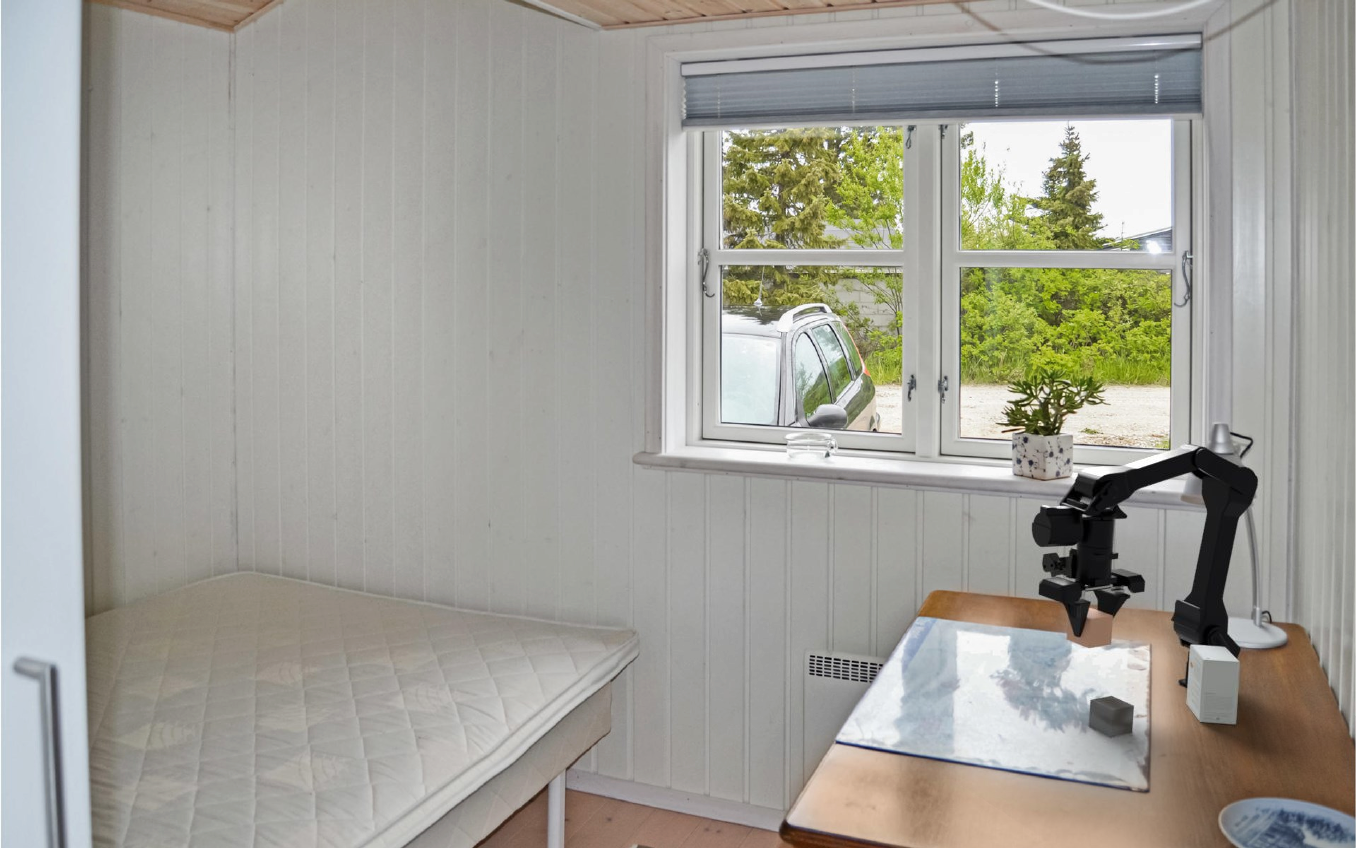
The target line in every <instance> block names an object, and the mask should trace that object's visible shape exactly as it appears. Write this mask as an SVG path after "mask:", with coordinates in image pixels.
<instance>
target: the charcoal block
mask: <svg viewBox="0 0 1356 848" xmlns="http://www.w3.org/2000/svg"><path fill="white" fill-rule="evenodd" d="M1089 701H1090V702H1089V719H1088V727H1089V728H1091V729H1093V730H1094V731H1097V732H1099V733H1102V734H1103V735H1105V736H1108V737H1109V738H1114V737H1119V736H1120V737H1121V736H1124V735H1128V734H1132V733H1133V728H1134V727H1133V726H1134V712H1135V711H1134V709H1135V705H1133V704H1131V703H1129V702H1126V701H1125V700H1122V699H1119V698H1118V697H1115V696H1114V695H1108V696H1104V697H1097V698H1092V699H1090V700H1089Z"/></svg>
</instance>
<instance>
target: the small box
mask: <svg viewBox="0 0 1356 848" xmlns="http://www.w3.org/2000/svg"><path fill="white" fill-rule="evenodd" d="M1189 652H1190V655H1189V671H1188V686H1186V687H1187V691H1186V703H1185V704H1186V705H1187V707H1188V708H1189V709H1190V711H1191V712H1192V713H1193V715H1194V716H1195V717H1196V719H1197V720H1198V721H1199V722H1200V723H1209V724H1212V723H1213V724H1225V725H1237V715H1238V701H1239V700H1238V699H1239V688H1240V687H1239V686H1240V671H1241V661H1240V660H1239V659H1238V658H1237V659H1236V658H1235V657H1234V656H1233V655H1232V654H1231V653H1230V652H1229V650H1228V649H1227V648H1226V647H1220V646H1205V645H1190V649H1189Z"/></svg>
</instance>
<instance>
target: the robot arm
mask: <svg viewBox="0 0 1356 848" xmlns="http://www.w3.org/2000/svg"><path fill="white" fill-rule="evenodd" d="M1187 474H1191V475H1192V476H1194V477H1195V478H1197V479H1199V480H1200V481H1201V497H1202V501H1203V503H1204V506H1205V509H1206V516H1205V522H1204V526H1203V532H1202V536H1201V543H1200V546H1199V553H1198V557H1197V561H1196V565H1195V566H1196V567H1195V573H1194V576H1193V577H1194V578H1193V581H1192V588H1191V591H1190V593H1189V594H1188V595H1187V596H1186V597H1185V598H1184V599H1183V600H1182V599H1179V598H1177V599H1176V600H1175V603H1174V611H1173V615H1172V617H1171V619H1170V621H1171V622H1173V626H1172V627H1173V632H1175V634H1176V636H1178V639H1179V644H1180V646H1182V647H1185V648H1187V649H1188V650H1190V645H1205V646H1220V647H1226V648H1227V649H1228V650H1229V652H1230V653H1231V654H1232V655H1233V656H1234V657H1235V658H1236V659H1237V660H1238V658H1239V655H1240V653H1241V650H1242V649H1241V647H1240V646H1239V645H1238V643H1237V642H1235V640H1234V639H1233V638H1232V636H1230V634H1229V633H1228V632H1229V615H1228V611H1227V609H1226V605H1225V602H1224V595H1225V594H1224V593H1225V589H1226V583H1227V578H1228V574H1229V570H1230V564H1231V559H1232V555H1233V549H1234V543H1235V539H1236V536H1237V535H1236V533H1237V529H1238V524H1239V520H1240V517H1242V515H1243V514H1244V513H1245V512H1246V511H1247V510H1248V509H1249V508H1250V506H1251V505H1252V503H1253V501H1254V497H1255V495H1256V493H1257V489H1258V486H1259V477H1258V476H1257V475H1256V473H1255V471H1254V470H1253V469H1252V468H1251V467H1247V466H1244V465H1239V464H1235V463H1234V462H1232V461H1229V460H1228V459H1225V458H1224V457H1222V456H1220V455H1218V454H1216V453H1215V452H1213V451H1212V450H1210V449H1209V448H1207V447H1205V446H1201V445H1198V444H1197V445H1196V444H1193V443H1192V444H1191V443H1184V444H1182V445H1180V446H1178V447H1176V448H1174V449H1170V450H1167V451H1164V452H1161V453H1157V454H1155V455H1152V456H1148V457H1146V458H1142V459H1139V460H1136V461H1134V462H1130V463H1127V464H1123V465H1114V466H1113V465H1102V466H1095V467H1087V468H1084V469H1081V470H1080V471H1079V472H1078V473H1077V476H1076V478H1075V480H1074V483H1073V484H1072V485H1071V487H1070V488H1069V489H1068V491H1067V492H1066V494H1065V495H1064V496H1063V498H1062V499H1061V501H1060V502H1059V505H1056V506H1055V505H1046V504H1045V505H1041V506H1040V507H1039V512H1038V513H1037V514H1035V516H1034V518H1033V521H1032V522H1031V534H1032V538H1033V540H1034V542H1035V544H1036V545H1037V546H1038V547H1040V548H1051V547H1052V548H1055V547H1071V548H1070V549H1069V550H1068V555H1067V556H1061V557H1060V556H1059V554H1058V553H1057V552H1051V553H1044V554H1043V555H1042V560H1041V561H1042V562H1041V565H1042V566H1041V567H1042V569H1043V572H1044V573H1049V574H1050V577H1047V578H1042V579H1041V580H1040V581H1039V582H1038V595H1039V596H1042V597H1044V598H1047V599H1050V600H1052V601H1055V602H1058V603H1061V604H1062V605H1063V607H1064V609H1065V611H1066V613H1067V618H1068V617H1069V620H1070V624H1071V627H1072V630H1073V633H1074V636H1076V637H1081V635H1082V632H1083V629H1084V626H1085V622H1086V618H1087V615H1088V611H1089V608H1091V604H1092V601H1089V600H1087V599H1086V592H1093V593H1094V595H1095V598H1096V600H1097V604H1096V607H1097V609H1096V610H1098V611H1101V612H1104V613H1107V614H1110V615H1112V616H1113V619H1114V618H1115V617H1116V616H1117V614H1118V613H1119V611H1120V609H1122V607H1123V606H1124V604H1125V603H1126V601H1127V600H1129V599H1131V595H1130V594H1128V593H1125V588H1124V587H1127V590H1128V591H1129V592H1130V593H1131V594H1139V593H1144V592H1145V589H1146V579H1144V577H1143V575H1142V574H1140V573H1137V572H1134V571H1130V570H1128V569H1124V568H1115V569H1113V560H1118V559H1119V552H1116V551H1114V539H1115V526H1116V525H1115V522H1116V520H1125V519H1127V518H1128V515H1127V514H1126V513H1125V512H1124V511H1123V510H1122V509H1121V508H1120V506H1119V505H1120V504H1121V503H1123V502H1125V501H1127V500H1129V499H1130V497H1132V495H1133V494H1134V493H1135V492H1137V491H1139V490H1140V489H1144V488H1147V487H1149V486H1152V485H1156V484H1159V483H1162V482H1166V481H1168V480H1171V479H1174V478H1177V477H1181V476H1183V475H1187ZM1072 546H1073V547H1072ZM1074 546H1075V547H1074ZM1061 576H1063V577H1064V576H1065V577H1064V578H1063V577H1061ZM1066 578H1067V579H1066ZM1069 579H1070V580H1069ZM1071 579H1072V580H1071ZM1073 579H1074V581H1073ZM1189 655H1190V651H1188V652H1187V661H1186V663H1185V664H1186V665H1185V676H1184V677H1185V678H1181V679H1178V684H1180V685H1183V686H1185V687H1188V671H1189Z"/></svg>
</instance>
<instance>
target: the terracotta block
mask: <svg viewBox="0 0 1356 848" xmlns="http://www.w3.org/2000/svg"><path fill="white" fill-rule="evenodd" d="M1113 620H1114V618H1113V616H1112V615H1110V614H1107V613H1104V612H1101V611H1098V610H1097V609H1095V608H1092V607H1090V608H1089V611H1088V615H1087V618H1086V622H1085V626H1084V629H1083V632H1082V635H1081V637H1076V636H1074V633H1073V630H1072V627H1071V624H1070V620H1069V617H1068V616H1067V625H1066V640H1068V641H1070V642H1072V643H1075V644H1077V645H1079V646H1082V647H1085V648H1087V649H1093V648H1099V647H1100V648H1101V647H1106V646H1111V645H1112V638H1113V622H1114V621H1113Z"/></svg>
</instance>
